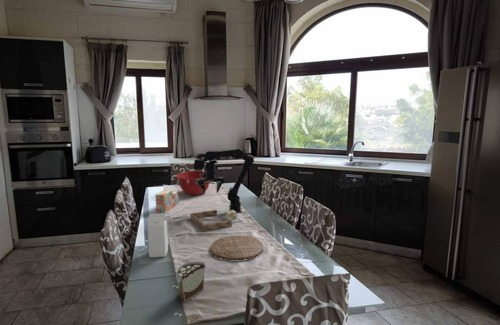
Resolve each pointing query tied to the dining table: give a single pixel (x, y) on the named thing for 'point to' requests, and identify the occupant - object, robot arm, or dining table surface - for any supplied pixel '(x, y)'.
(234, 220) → the grey mat
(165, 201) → the colourful printed box
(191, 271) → the cake slice
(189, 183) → the mixing bowl
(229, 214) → the birch block
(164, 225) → the milk carton
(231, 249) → the trivet
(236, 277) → the dining table surface
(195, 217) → the walnut u-shaped frame
